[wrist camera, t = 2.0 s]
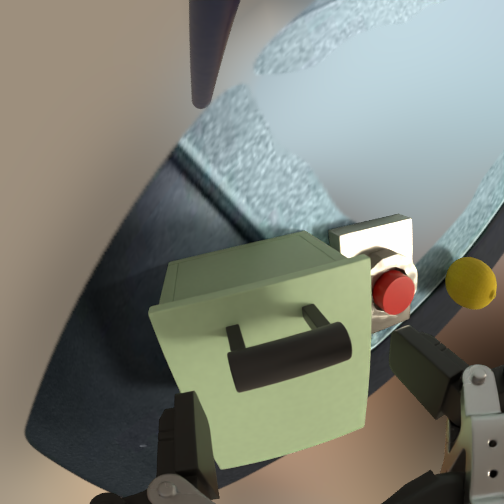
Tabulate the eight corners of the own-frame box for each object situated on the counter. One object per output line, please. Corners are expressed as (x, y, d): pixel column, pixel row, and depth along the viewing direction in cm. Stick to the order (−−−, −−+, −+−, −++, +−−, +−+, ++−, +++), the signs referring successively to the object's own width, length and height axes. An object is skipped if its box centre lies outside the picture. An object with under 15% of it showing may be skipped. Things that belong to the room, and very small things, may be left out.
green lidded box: (168, 262, 24) (154, 320, 15) (305, 230, 26) (363, 267, 16) (209, 385, 28) (219, 461, 19) (319, 356, 30) (360, 420, 21)
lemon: (427, 273, 30) (475, 300, 22) (454, 239, 29) (503, 260, 22) (441, 300, 32) (484, 329, 24) (466, 269, 31) (510, 292, 24)
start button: (371, 275, 24) (382, 283, 22) (404, 265, 24) (415, 271, 23) (372, 311, 25) (382, 320, 23) (403, 300, 26) (413, 307, 24)
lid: (149, 306, 15) (134, 365, 10) (363, 253, 16) (419, 286, 11) (219, 462, 19) (228, 513, 14) (360, 420, 20) (387, 462, 16)
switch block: (327, 229, 26) (348, 240, 22) (398, 213, 27) (424, 221, 23) (336, 332, 29) (353, 353, 26) (398, 310, 30) (419, 326, 27)
